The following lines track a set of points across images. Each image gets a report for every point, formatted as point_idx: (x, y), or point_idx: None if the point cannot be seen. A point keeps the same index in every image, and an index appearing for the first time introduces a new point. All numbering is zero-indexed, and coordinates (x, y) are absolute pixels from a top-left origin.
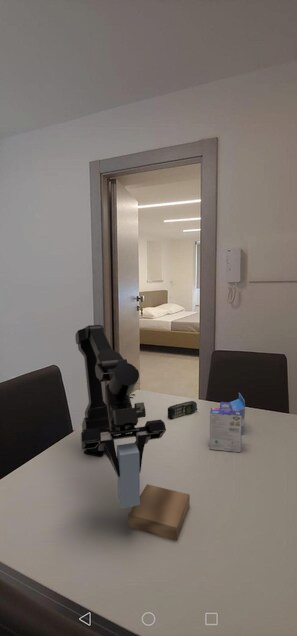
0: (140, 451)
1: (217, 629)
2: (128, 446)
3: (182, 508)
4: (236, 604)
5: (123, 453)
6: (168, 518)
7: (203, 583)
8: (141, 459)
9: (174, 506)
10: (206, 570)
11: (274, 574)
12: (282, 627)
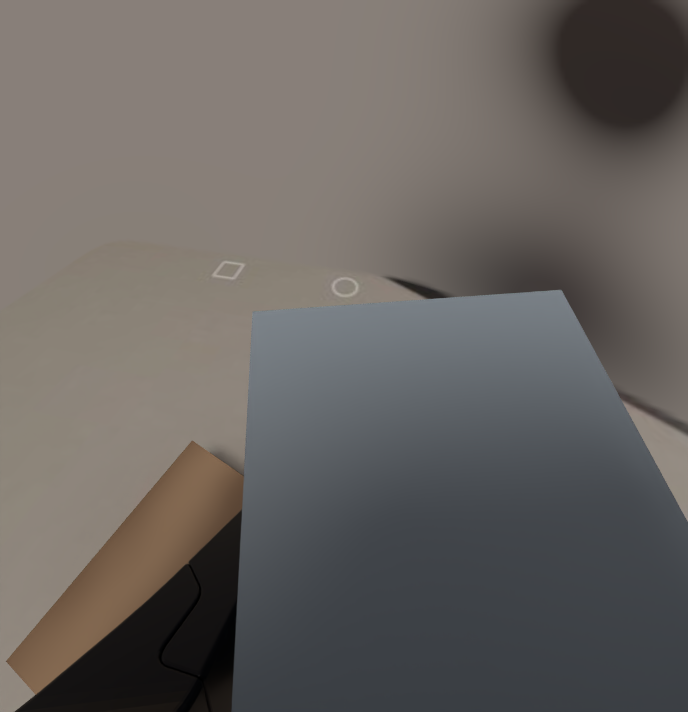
0: (191, 600)
1: (228, 255)
2: (438, 555)
3: (111, 545)
4: (166, 281)
5: (518, 319)
6: (201, 495)
7: (205, 326)
8: (229, 527)
9: (139, 570)
10: (179, 352)
11: (34, 318)
12: (118, 242)
